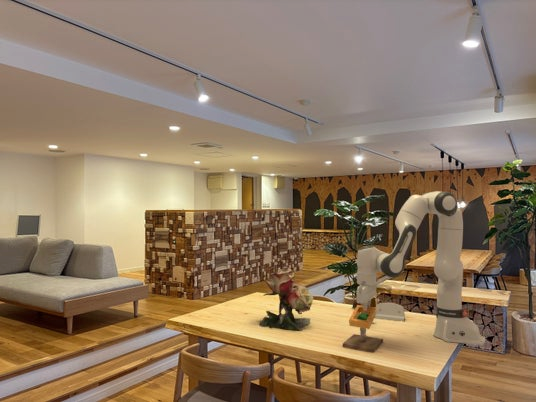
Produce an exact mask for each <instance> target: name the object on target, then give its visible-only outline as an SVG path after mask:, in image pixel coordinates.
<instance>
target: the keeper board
mask: <svg viewBox="0 0 536 402" xmlns="http://www.w3.org/2000/svg"><path fill="white" fill-rule="evenodd" d="M359 330H360V331H359V332H360V333H359V334H355V333H353V334H352V335H351V336H350V337H348V338H347V339H346V340H345V341H344V342H343V343H342V348H344V349H345V348H347V349H351V350H352V349H353V350H357V351H363V352H367V353H373V354H374V353H375V352H376V351H377V349H378V348H379V347H380V346H381V345H382V344H383V342H384V338H379V337H373V336H368V335H366V332H367V328H360V327H359Z"/></svg>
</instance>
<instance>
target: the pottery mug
mask: <svg viewBox="0 0 536 402" xmlns="http://www.w3.org/2000/svg"><path fill="white" fill-rule="evenodd" d="M357 305H361V306H362V304H360V303H357V298H356V299H354V301H353V304H352V309H353V310H355V308H356V307H357Z"/></svg>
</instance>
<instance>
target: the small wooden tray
mask: <svg viewBox="0 0 536 402" xmlns="http://www.w3.org/2000/svg"><path fill="white" fill-rule="evenodd" d="M360 313H367V314H369V316H368V318H367V320H366V321H365V320H359V319H357V318H358V316H359V314H360ZM376 313H377V311H376V307H375V306H370V307H369V306H368V310H367V311H364V310H363V305H362V304H361V305H357V307H356V308H355V309H353V312H352V314H351V316H350V317H349V319H348V324H349V327H355V328H359V329H360V328H366V330H369V329H371V326H372V325H373V322H374V320H375V316H376Z"/></svg>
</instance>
